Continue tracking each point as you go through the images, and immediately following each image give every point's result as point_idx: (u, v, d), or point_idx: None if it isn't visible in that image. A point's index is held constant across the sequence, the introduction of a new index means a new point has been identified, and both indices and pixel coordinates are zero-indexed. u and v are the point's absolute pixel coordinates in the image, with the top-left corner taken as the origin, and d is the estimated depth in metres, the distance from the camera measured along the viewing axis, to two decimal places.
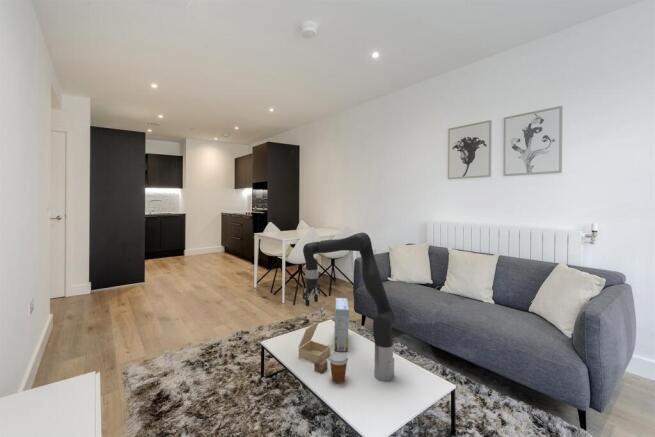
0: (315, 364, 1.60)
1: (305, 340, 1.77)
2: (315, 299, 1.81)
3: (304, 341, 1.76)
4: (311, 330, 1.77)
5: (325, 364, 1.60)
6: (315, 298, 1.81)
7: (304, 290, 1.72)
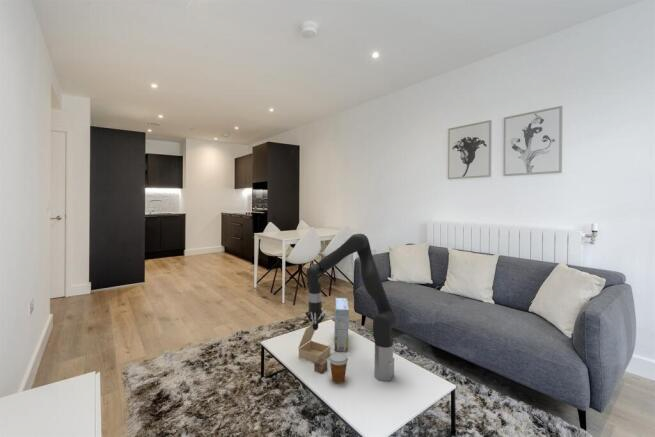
0: (315, 364, 1.60)
1: (305, 340, 1.77)
2: None
3: (304, 341, 1.76)
4: (310, 330, 1.77)
5: (325, 364, 1.60)
6: None
7: (323, 317, 1.70)
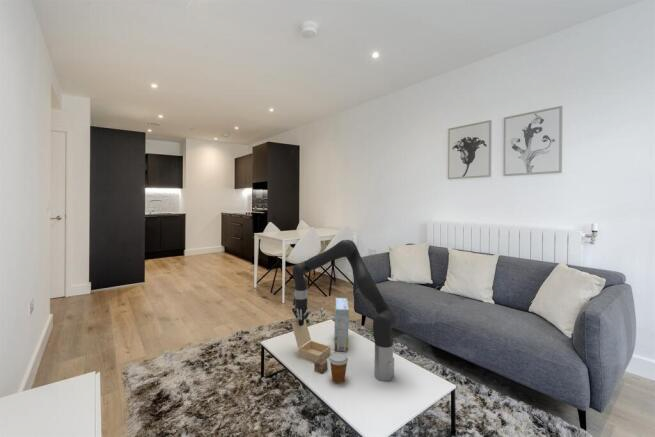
0: (315, 364, 1.60)
1: (301, 338, 1.78)
2: None
3: (300, 340, 1.77)
4: (300, 327, 1.81)
5: (325, 364, 1.60)
6: None
7: (309, 313, 1.76)
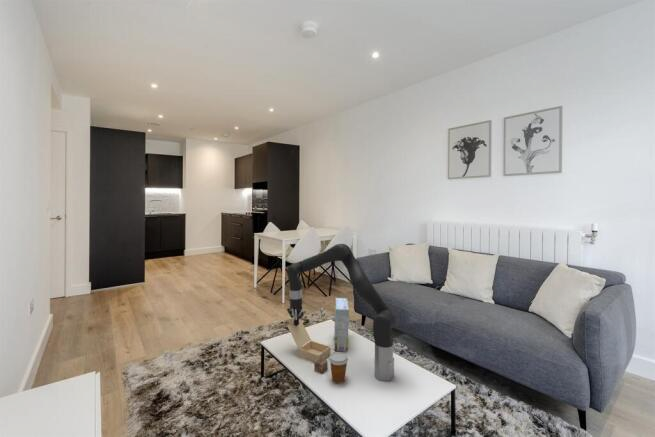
0: (315, 364, 1.60)
1: (300, 339, 1.79)
2: None
3: (299, 340, 1.78)
4: (297, 328, 1.82)
5: (325, 364, 1.60)
6: None
7: (303, 313, 1.78)
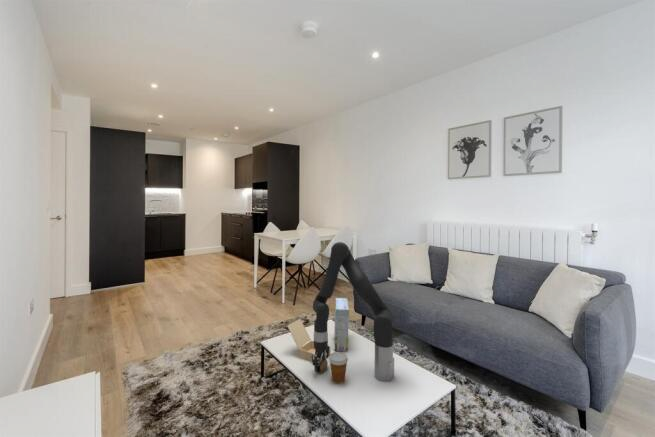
0: None
1: (300, 339, 1.79)
2: None
3: (299, 340, 1.78)
4: (297, 328, 1.82)
5: (324, 364, 1.60)
6: None
7: None
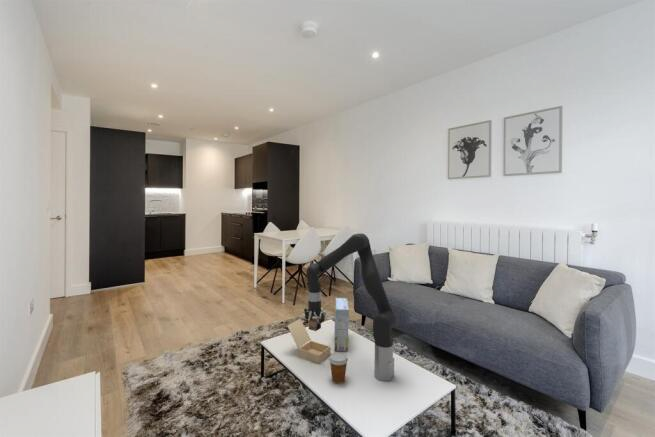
0: None
1: (300, 339, 1.79)
2: None
3: (299, 340, 1.78)
4: (297, 328, 1.82)
5: (312, 323, 1.72)
6: None
7: (324, 314, 1.70)
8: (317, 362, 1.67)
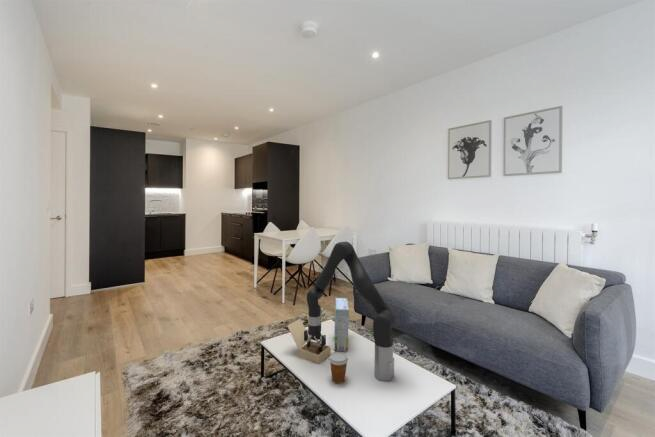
0: None
1: (300, 339, 1.79)
2: (309, 346, 1.77)
3: (299, 340, 1.78)
4: (297, 328, 1.82)
5: (312, 350, 1.73)
6: (309, 345, 1.77)
7: (324, 337, 1.71)
8: (317, 362, 1.67)
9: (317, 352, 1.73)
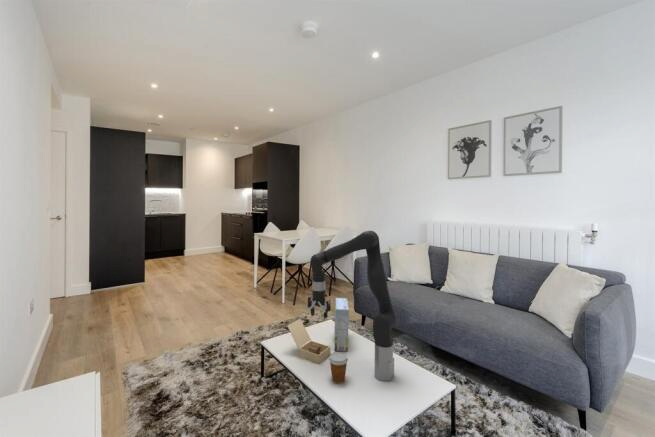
0: None
1: (300, 339, 1.79)
2: (313, 312, 1.74)
3: (299, 340, 1.78)
4: (297, 328, 1.82)
5: (312, 350, 1.73)
6: (313, 311, 1.74)
7: (328, 302, 1.68)
8: (317, 362, 1.67)
9: (317, 352, 1.73)
